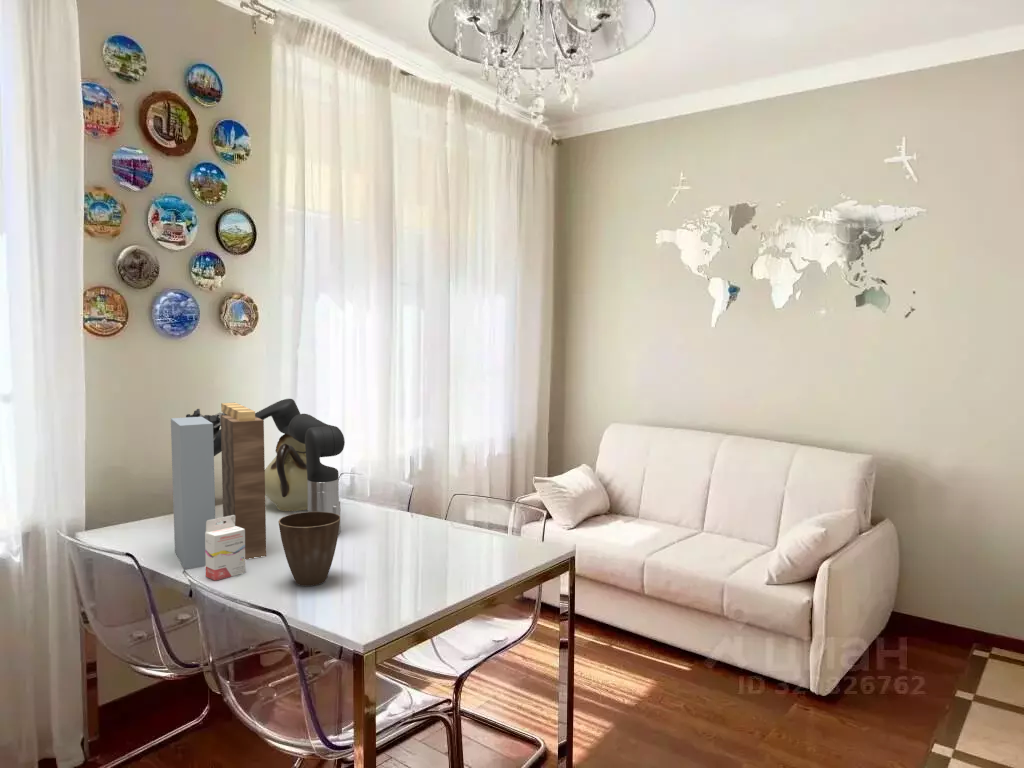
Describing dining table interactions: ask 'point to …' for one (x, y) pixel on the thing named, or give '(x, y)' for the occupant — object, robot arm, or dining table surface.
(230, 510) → the walnut pillar
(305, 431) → the robot arm
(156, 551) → the dining table surface
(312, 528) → the plant pot
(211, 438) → the slate grey pillar
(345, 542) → the dining table surface
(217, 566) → the ink cartridge box
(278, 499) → the pitcher
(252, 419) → the pine slat
